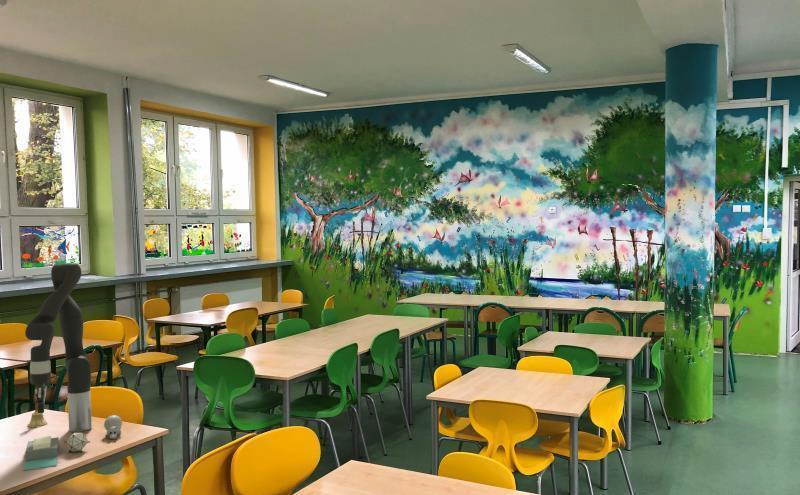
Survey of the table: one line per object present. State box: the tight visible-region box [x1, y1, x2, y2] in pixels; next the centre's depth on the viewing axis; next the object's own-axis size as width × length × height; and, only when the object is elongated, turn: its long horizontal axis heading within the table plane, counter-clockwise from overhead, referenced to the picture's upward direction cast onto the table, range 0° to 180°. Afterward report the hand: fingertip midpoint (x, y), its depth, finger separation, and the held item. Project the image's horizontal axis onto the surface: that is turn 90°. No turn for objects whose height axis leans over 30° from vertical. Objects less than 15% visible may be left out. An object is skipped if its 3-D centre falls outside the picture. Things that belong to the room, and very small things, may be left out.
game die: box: [63, 430, 91, 454], centre depth 266 cm, size 9×8×10 cm
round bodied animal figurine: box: [103, 414, 123, 440], centre depth 284 cm, size 7×12×8 cm, turn 20°
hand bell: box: [27, 392, 49, 428], centre depth 303 cm, size 8×8×16 cm
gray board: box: [24, 436, 60, 462], centre depth 264 cm, size 11×14×4 cm
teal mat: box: [23, 457, 58, 472], centre depth 253 cm, size 11×10×1 cm
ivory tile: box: [33, 435, 52, 450], centre depth 263 cm, size 6×9×2 cm, turn 26°
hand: (41, 412), depth 271 cm, fingers closed
